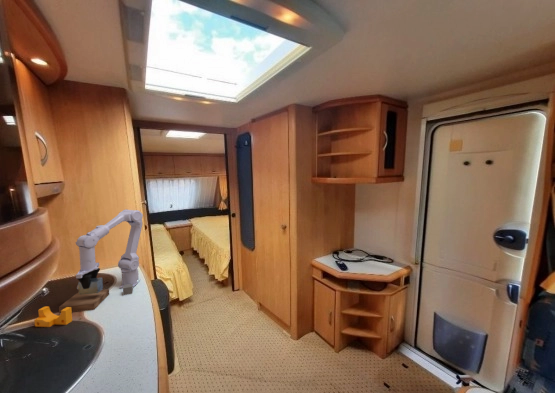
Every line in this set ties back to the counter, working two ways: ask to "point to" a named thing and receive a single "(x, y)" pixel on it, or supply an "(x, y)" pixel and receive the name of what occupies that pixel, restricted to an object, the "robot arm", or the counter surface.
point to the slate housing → (91, 286)
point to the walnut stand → (85, 301)
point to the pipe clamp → (53, 317)
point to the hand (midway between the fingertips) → (89, 286)
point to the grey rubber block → (127, 289)
